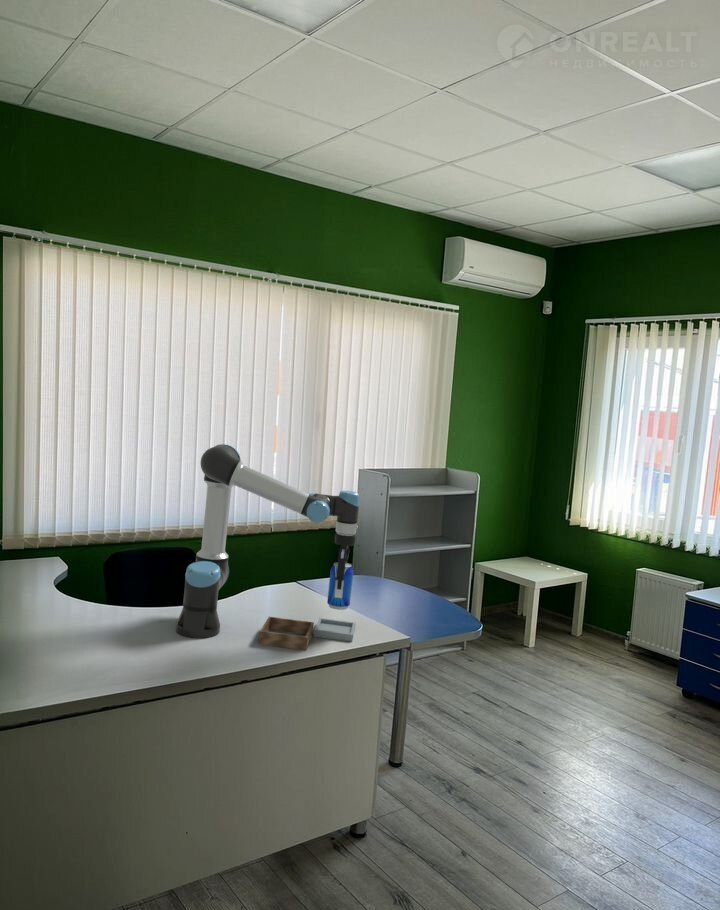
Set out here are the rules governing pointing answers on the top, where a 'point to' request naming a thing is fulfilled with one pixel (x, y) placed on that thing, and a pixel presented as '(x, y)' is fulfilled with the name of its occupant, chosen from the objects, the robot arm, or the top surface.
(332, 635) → the tray
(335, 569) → the beer can
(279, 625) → the crate
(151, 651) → the top surface
